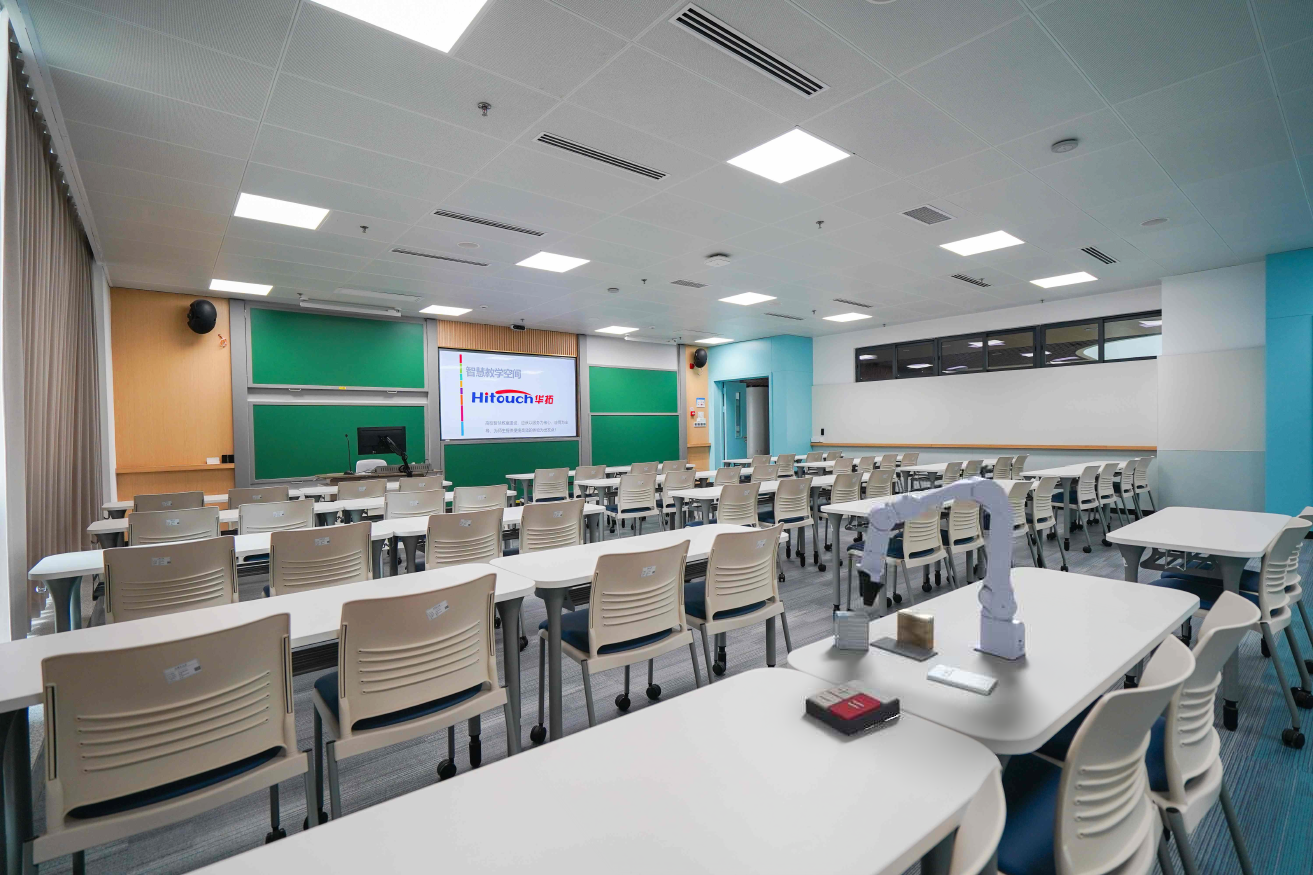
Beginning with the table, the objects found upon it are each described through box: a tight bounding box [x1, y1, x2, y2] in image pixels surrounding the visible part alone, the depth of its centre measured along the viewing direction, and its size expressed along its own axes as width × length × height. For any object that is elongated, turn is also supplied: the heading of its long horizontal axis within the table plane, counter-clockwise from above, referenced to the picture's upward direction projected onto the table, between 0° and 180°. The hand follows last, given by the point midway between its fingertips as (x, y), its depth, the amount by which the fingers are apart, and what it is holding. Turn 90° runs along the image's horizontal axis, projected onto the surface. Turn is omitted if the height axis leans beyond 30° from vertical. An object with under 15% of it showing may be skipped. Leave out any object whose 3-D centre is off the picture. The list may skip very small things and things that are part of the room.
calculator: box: [805, 678, 901, 737], centre depth 118 cm, size 11×4×15 cm
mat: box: [869, 636, 939, 662], centre depth 152 cm, size 14×8×1 cm, turn 38°
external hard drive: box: [926, 664, 999, 696], centre depth 133 cm, size 2×8×12 cm
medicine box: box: [834, 610, 870, 651], centre depth 153 cm, size 8×4×9 cm, turn 84°
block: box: [896, 608, 935, 650], centre depth 156 cm, size 8×4×8 cm, turn 38°
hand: (865, 601), depth 158 cm, fingers open, 7 cm apart
